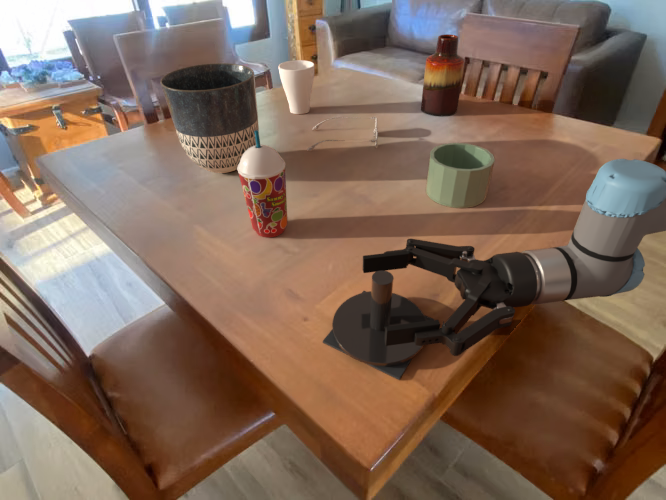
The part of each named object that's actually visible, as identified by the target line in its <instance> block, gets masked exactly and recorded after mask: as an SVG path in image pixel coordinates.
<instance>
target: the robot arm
mask: <svg viewBox="0 0 666 500" xmlns="http://www.w3.org/2000/svg"><path fill="white" fill-rule="evenodd" d="M661 232H666V170H665V169H663V167H660V166H658V165H656V164H654V163H652V162H648V161H645V160H642V159H641V160H640V159H637V158H636V159H635V158H634V159H627V158H617V159H612V160H609V161H606V162H605V163H604V164H602V165H601V166H600V168H599V169H598V170H597V173H596V175H595V177H594V179H593V181H592V183H591V185H590V186H589V188H588V189H587V191H586V194H585V199H584V202H583V205H582V207H581V210H580V212H579V214H578V218H577V220H576V223H575V225H574V228H573V231H572V234H571V235H570V238H569V241H568V243H567V244H565V245H560V246H555V247H547V248H536V249H527V250H522V251H512V252H503V253H496V254H493V255H492V256H491V257H489V258H487V259H486V260H485V259H484V260H481V259H477V258H476V257H475V250H476V249H475V247H474V246H473V245H459V246H458V245H453V244H446V243H441V242H440V243H439V242H434V241H428V240H423V239H417V238H407V239H406V245H405V248H403V249H395V250H387V251H384V252H383V253H382V252H381V253H374V254H366V255H362V272H363V274H367V273H375V272H377V271H381V270H383V271H393V270H401V269H407V268H408V266H409V265H411V266H413V267H416V268H419V269H422V270H425V271H428V272H430V273H433V274H435V275H439V276H441V277H444V278H446V279H447V280H448V281H449V282H451V283H454V286H455V288H456V289H457V290H458V291H459V293H460V297H461V299H462V300H463V302H462V303H461V304H460V305H459V306H458V307H457V309H455V311H454V312H453V313H452V315H450V317H448V319H447V320H446V321H444V320H442V321H443V322H442V325H441V323H440V321H439V319H434V320H431V321H423V322H416V323H408V324H401V325H393V326H386V328H385V344H386V346H390V345H397V344H404V343H412V342H415V345H418V346H423V345H424V346H429V345H437V344H441V345H443V346H446V348H448V349H449V353H450V355H452V356H453V357H458V356H460V355H461V354H463V353H464V352H467V350H469V349H471V348H472V347H473V346H475V345H476V344H477V343H480V341H482V340H483V339H484V338H486V337H488V336H489V335H490V334H492V333H493V332H495V331H496V330H499V329H503V328H508V327H510V326H511V325H512V322H513V319H514V316H515V313H516V308H522V307H527V306H530V305H543V304H549V303H558V302H564V301H571V300H581V299H589V298H597V297H598V298H607V297H611V296H614V295H617V294H622V293H623V294H624V293H627V292H631V291H633V290H635V289H636V288H638V286H640V285H641V283H642V282H643V280H644V278H645V272H644V267H645V266H646V261H645V259H644V256H643V253H642V252H641V250H640V249H639V248H638V247H639V246H640V244H641V242H642V240H643V238H645V236H647V235H651V234H657V233H658V234H659V233H661ZM457 268H458V270H457ZM481 307H483V308H487V309H490V310H491V311H489V312H488V313H486V314H484V315H483V316H481V317H480V318H479V319H477V320H475V321H473V322H472V323H471V324H469V325H468V326H467V327H465V328H464V329H462V328H463V327H464V326H465V325H466V324H467V323H468V321H469V320H470V319H471V318H472V317H473V316H475V315H476V313H477V312H479V310H480V308H481ZM424 346H423V347H424Z"/></svg>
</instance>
